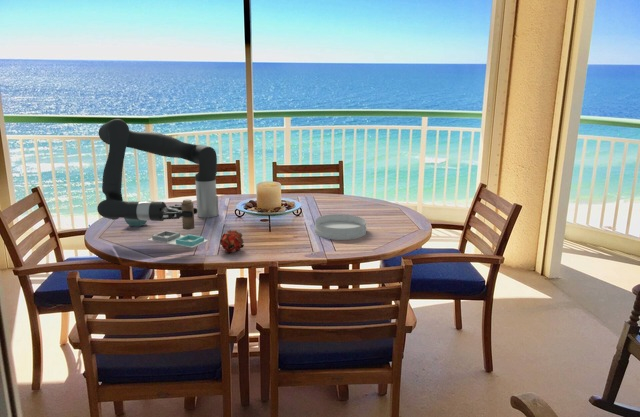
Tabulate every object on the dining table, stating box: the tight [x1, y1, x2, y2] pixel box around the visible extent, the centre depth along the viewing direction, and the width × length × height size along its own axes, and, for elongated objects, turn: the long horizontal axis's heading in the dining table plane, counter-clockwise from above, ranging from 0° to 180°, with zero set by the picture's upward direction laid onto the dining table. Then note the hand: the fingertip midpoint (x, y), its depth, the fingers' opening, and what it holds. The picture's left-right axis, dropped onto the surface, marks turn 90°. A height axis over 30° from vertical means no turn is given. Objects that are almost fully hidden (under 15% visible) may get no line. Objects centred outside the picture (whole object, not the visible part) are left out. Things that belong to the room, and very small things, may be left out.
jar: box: [180, 199, 196, 231], centre depth 188 cm, size 4×4×11 cm
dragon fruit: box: [219, 229, 245, 255], centre depth 184 cm, size 8×8×12 cm
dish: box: [314, 213, 367, 241], centre depth 209 cm, size 22×22×5 cm
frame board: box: [147, 230, 209, 248], centre depth 194 cm, size 22×10×3 cm, turn 65°
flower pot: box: [123, 218, 148, 228], centre depth 216 cm, size 9×9×9 cm
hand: (194, 212), depth 188 cm, fingers closed on jar, 4 cm apart
